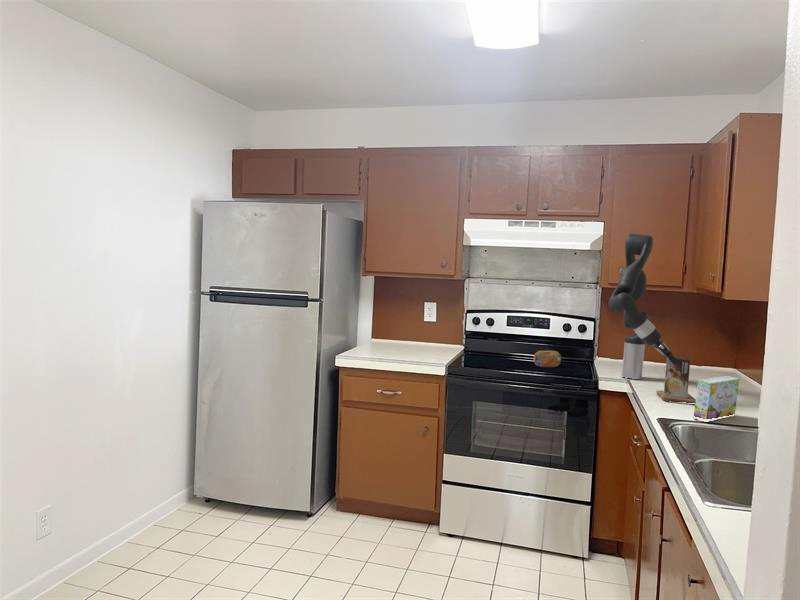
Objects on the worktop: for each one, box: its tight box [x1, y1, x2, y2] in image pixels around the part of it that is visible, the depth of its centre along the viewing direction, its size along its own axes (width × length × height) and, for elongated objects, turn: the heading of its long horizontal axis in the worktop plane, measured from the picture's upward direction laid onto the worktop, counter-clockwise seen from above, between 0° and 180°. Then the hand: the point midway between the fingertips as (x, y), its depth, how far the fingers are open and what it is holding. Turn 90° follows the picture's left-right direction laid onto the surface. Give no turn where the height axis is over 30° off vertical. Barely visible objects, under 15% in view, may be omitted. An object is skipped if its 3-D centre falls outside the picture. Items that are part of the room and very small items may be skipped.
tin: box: [533, 350, 562, 368], centre depth 309 cm, size 15×3×8 cm, turn 105°
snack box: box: [693, 375, 740, 419], centre depth 223 cm, size 21×6×15 cm, turn 126°
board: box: [655, 390, 696, 403], centre depth 251 cm, size 14×13×2 cm
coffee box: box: [663, 356, 691, 398], centre depth 250 cm, size 9×6×16 cm
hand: (673, 361), depth 250 cm, fingers open, 8 cm apart
